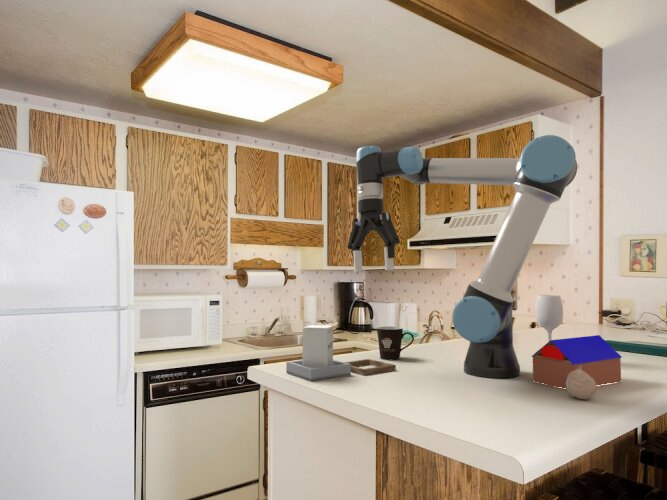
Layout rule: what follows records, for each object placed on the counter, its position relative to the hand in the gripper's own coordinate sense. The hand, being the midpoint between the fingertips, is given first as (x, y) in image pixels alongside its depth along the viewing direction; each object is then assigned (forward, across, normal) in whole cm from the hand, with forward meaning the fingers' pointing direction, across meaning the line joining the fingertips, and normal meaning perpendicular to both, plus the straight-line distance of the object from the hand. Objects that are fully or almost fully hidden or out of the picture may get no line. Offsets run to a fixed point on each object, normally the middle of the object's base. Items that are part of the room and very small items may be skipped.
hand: (373, 271), depth 138 cm
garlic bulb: (+31, +51, +16) cm, 61 cm away
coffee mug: (+29, -10, +17) cm, 35 cm away
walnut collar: (+29, -3, -1) cm, 29 cm away
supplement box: (+28, -7, -16) cm, 33 cm away
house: (+31, +42, +31) cm, 61 cm away
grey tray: (+28, -7, -16) cm, 33 cm away
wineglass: (+30, +23, +54) cm, 66 cm away
